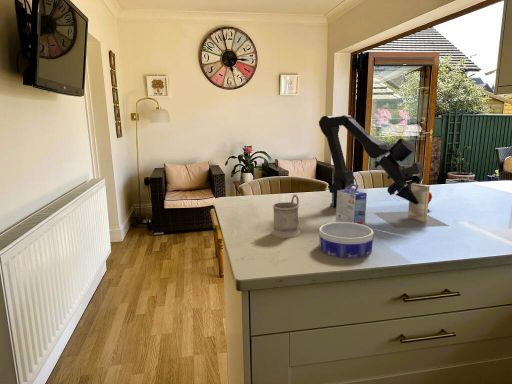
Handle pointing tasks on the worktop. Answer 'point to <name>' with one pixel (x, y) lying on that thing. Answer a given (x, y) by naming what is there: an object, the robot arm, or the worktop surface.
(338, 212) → the ink cartridge box
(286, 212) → the mug
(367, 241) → the dog bowl
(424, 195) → the board
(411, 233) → the worktop surface
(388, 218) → the mat
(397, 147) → the robot arm
